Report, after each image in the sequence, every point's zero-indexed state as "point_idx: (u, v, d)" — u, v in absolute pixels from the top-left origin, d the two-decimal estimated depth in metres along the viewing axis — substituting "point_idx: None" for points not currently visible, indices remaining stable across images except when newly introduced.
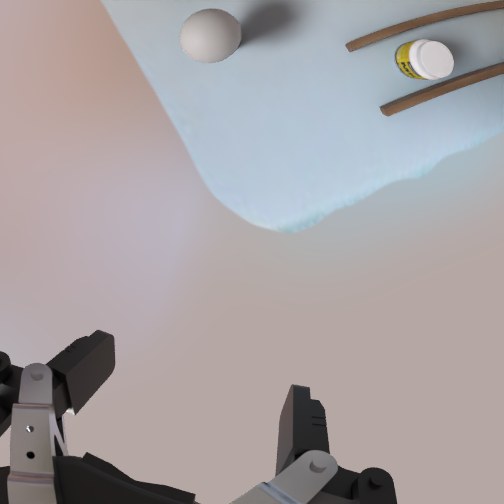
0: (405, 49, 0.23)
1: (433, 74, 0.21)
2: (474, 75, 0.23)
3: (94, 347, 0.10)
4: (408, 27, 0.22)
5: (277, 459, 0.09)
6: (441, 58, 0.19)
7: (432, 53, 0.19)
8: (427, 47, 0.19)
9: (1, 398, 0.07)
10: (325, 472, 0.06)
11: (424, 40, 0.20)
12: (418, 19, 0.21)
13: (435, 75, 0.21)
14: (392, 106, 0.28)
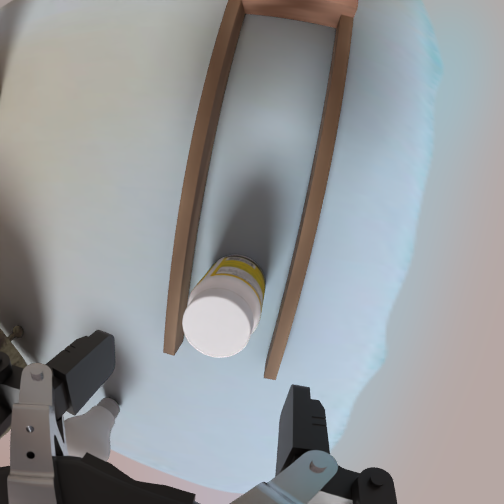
0: None
1: (234, 353, 0.16)
2: (308, 206, 0.20)
3: (94, 347, 0.10)
4: (180, 267, 0.22)
5: (277, 459, 0.09)
6: (217, 321, 0.16)
7: (203, 330, 0.16)
8: (189, 330, 0.16)
9: (1, 398, 0.07)
10: (325, 472, 0.06)
11: (190, 298, 0.18)
12: (176, 240, 0.21)
13: (238, 350, 0.16)
14: (268, 367, 0.23)
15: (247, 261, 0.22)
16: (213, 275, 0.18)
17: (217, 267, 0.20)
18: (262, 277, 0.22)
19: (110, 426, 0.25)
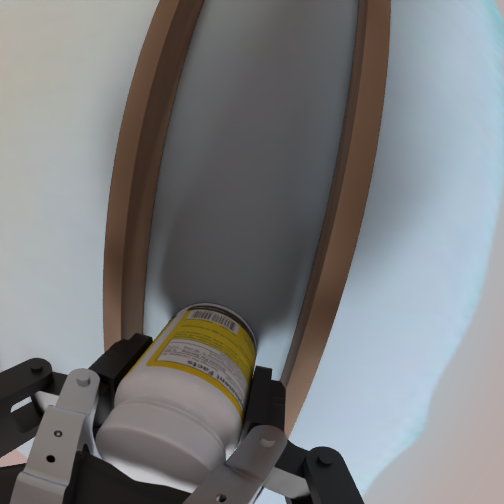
0: None
1: None
2: (335, 227, 0.10)
3: (137, 350, 0.11)
4: (116, 325, 0.12)
5: None
6: (152, 464, 0.06)
7: (132, 468, 0.07)
8: (110, 462, 0.07)
9: (37, 405, 0.07)
10: (273, 446, 0.07)
11: (116, 399, 0.09)
12: (106, 283, 0.12)
13: None
14: None
15: (224, 319, 0.13)
16: (150, 365, 0.09)
17: (167, 337, 0.11)
18: (250, 345, 0.13)
19: None
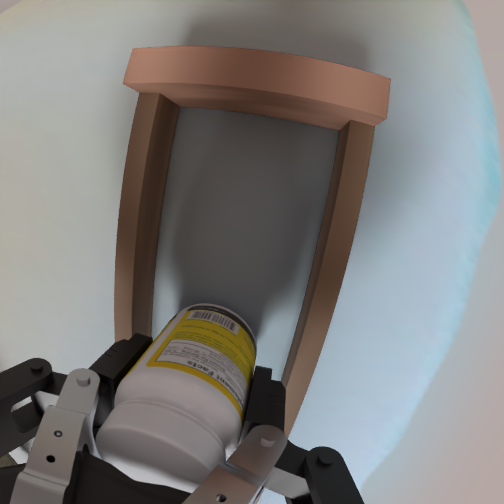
0: None
1: None
2: None
3: (137, 350, 0.11)
4: None
5: None
6: (152, 464, 0.06)
7: (132, 468, 0.07)
8: (110, 462, 0.07)
9: (37, 405, 0.07)
10: (273, 446, 0.07)
11: (116, 399, 0.09)
12: None
13: None
14: None
15: (223, 319, 0.13)
16: (150, 365, 0.09)
17: (167, 338, 0.11)
18: (250, 345, 0.13)
19: None
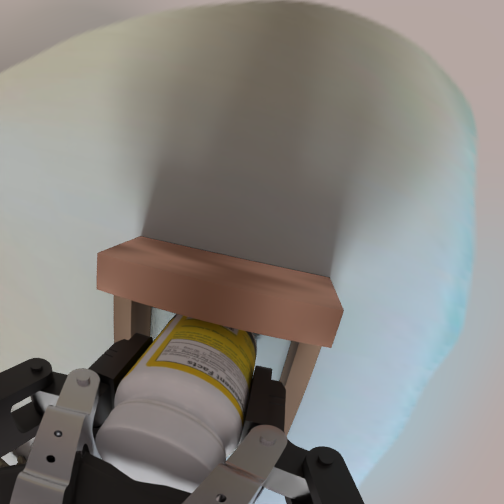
0: None
1: None
2: None
3: (137, 350, 0.11)
4: None
5: None
6: (152, 464, 0.06)
7: (132, 468, 0.07)
8: (110, 462, 0.07)
9: (37, 405, 0.07)
10: (273, 446, 0.07)
11: (116, 399, 0.09)
12: None
13: None
14: None
15: None
16: (150, 365, 0.09)
17: (167, 337, 0.11)
18: (250, 345, 0.13)
19: None
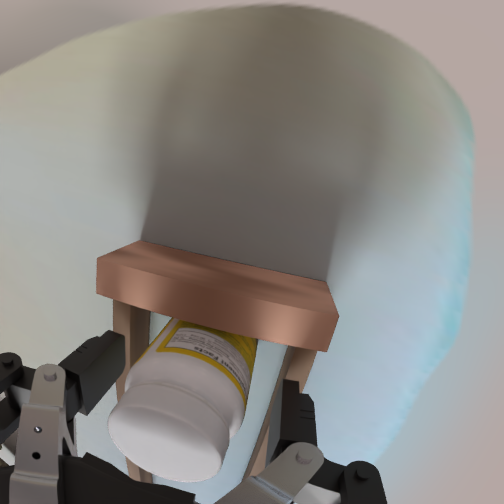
0: None
1: (197, 481, 0.08)
2: None
3: (106, 347, 0.10)
4: None
5: (267, 452, 0.09)
6: (161, 442, 0.07)
7: (142, 448, 0.08)
8: (121, 443, 0.08)
9: (11, 399, 0.07)
10: (311, 464, 0.07)
11: (126, 384, 0.10)
12: None
13: None
14: None
15: None
16: (160, 351, 0.10)
17: (174, 327, 0.12)
18: None
19: None
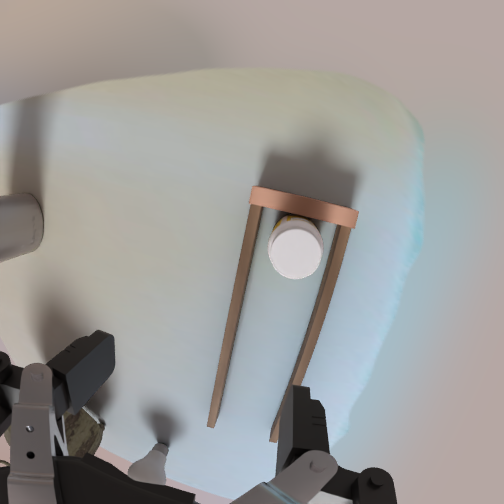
0: None
1: (308, 275, 0.23)
2: (300, 363, 0.31)
3: (94, 347, 0.10)
4: (220, 387, 0.33)
5: (277, 459, 0.09)
6: (297, 249, 0.22)
7: (286, 256, 0.23)
8: (275, 257, 0.23)
9: (1, 398, 0.07)
10: (325, 472, 0.06)
11: (271, 237, 0.25)
12: (218, 374, 0.33)
13: (311, 272, 0.23)
14: (272, 436, 0.34)
15: (306, 217, 0.29)
16: (289, 220, 0.25)
17: (287, 218, 0.27)
18: None
19: (164, 463, 0.37)
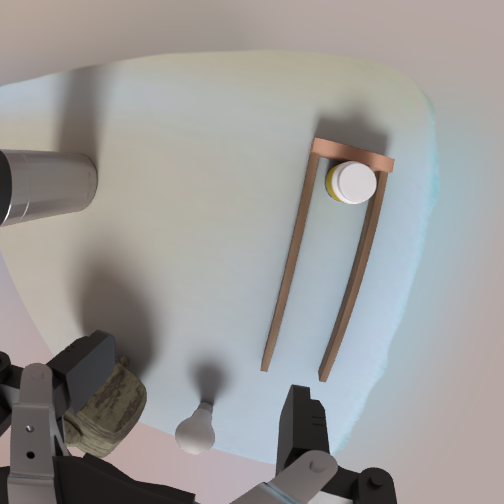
0: (331, 192, 0.32)
1: (367, 198, 0.28)
2: (351, 292, 0.36)
3: (94, 347, 0.10)
4: (278, 323, 0.38)
5: (277, 459, 0.09)
6: (359, 178, 0.28)
7: (351, 183, 0.28)
8: (343, 184, 0.28)
9: (1, 398, 0.07)
10: (325, 472, 0.06)
11: (335, 173, 0.30)
12: (277, 310, 0.38)
13: (369, 197, 0.28)
14: (322, 375, 0.39)
15: None
16: None
17: None
18: None
19: None
